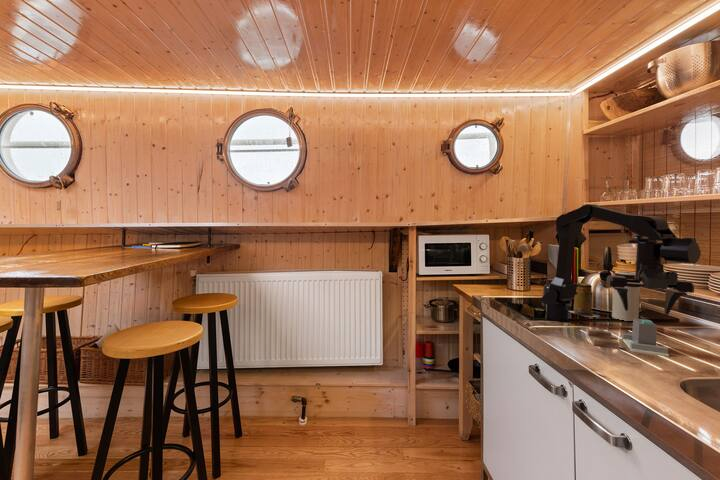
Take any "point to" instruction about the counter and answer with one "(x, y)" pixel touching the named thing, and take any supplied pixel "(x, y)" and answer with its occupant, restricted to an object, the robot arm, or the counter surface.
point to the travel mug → (633, 300)
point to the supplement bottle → (546, 288)
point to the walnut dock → (602, 339)
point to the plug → (644, 332)
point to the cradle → (644, 346)
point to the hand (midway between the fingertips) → (645, 312)
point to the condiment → (583, 300)
